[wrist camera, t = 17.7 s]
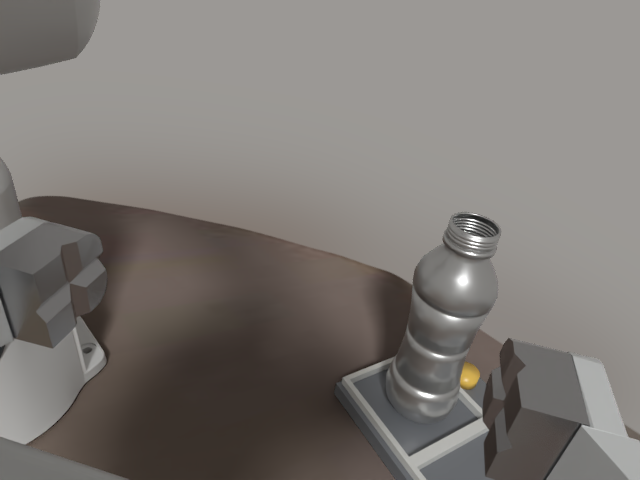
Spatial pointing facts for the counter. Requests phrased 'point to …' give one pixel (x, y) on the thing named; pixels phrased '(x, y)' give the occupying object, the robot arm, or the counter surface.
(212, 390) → the counter surface
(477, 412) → the board
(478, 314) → the plastic bottle
